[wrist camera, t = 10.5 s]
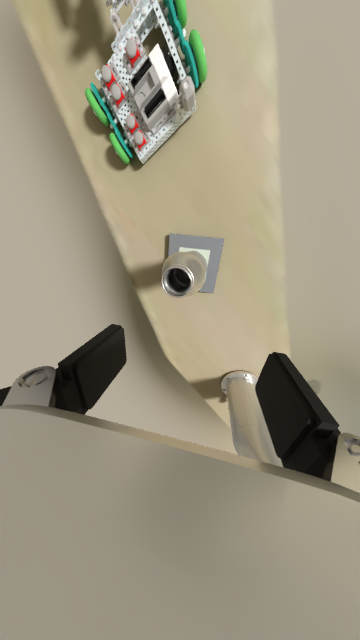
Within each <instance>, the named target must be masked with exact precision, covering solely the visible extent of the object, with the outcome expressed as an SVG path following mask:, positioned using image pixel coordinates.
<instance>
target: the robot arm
mask: <svg viewBox="0 0 360 640" xmlns="http://www.w3.org/2000/svg"><path fill="white" fill-rule="evenodd" d="M125 363H126V348H125V337H124V329H123V328H122V327H121V326H120V325H115V324H111V325H110V326H109V327H107V328H106V329H104V330H103V331H102V332H100V333H99V334H98V335H96V336H95V337H93V338H92V339H91V340H89V341H88V342H87V343H85V344H84V345H83V346H81V347H80V348H78V349H77V350H76V351H74V352H73V353H72V354H70V355H69V356H68V357H66V358H65V359H63V360H62V361H61V362H59V363H58V366H59V367H58V368H57V369H55V368H54V367H50V366H42V367H38V368H34V369H32V370H29V371H27V372H25V373H24V374H22V375H21V376H19V377H18V378H17V379H16V380H15V382H14V383H13V385H12V386H11V387H7V388H3V389H0V640H360V437H358V436H356V435H353V434H350V433H341V432H340V431H339V430H338V427H339V424H338V423H337V422H336V421H335V419H334V418H333V416H332V415H331V414H330V412H329V411H328V410H327V408H326V407H325V406H324V404H323V403H322V402H321V400H320V399H319V398H318V397H317V395H316V394H315V392H314V391H313V390H312V388H311V387H310V386H309V384H308V383H307V382H306V380H305V379H304V378H303V376H302V375H301V374H300V373H299V371H298V370H297V368H296V367H295V366H294V364H293V363H292V362H291V360H290V359H289V358H288V356H287V355H286V354H283V353H277V352H273V353H272V354H269V356H268V358H267V360H266V362H265V365H264V367H263V369H262V371H261V374H260V376H259V378H258V377H257V376H255V375H254V374H252V373H250V372H246V371H235V372H231V373H229V374H227V375H226V376H224V378H223V379H222V381H221V388H222V391H223V392H224V393H225V394H226V395H227V399H228V409H229V415H230V422H231V430H232V438H233V444H234V447H235V449H236V451H237V453H238V455H236V454H232V453H229V452H225V451H221V450H217V449H213V448H210V447H206V446H202V445H198V444H195V443H191V442H187V441H183V440H179V439H176V438H172V437H168V436H164V435H160V434H157V433H153V432H149V431H145V430H141V429H137V428H134V427H130V426H126V425H122V424H118V423H114V422H110V421H106V420H102V419H98V418H95V417H90V416H87V415H84V414H85V413H86V412H87V411H88V409H91V408H92V407H93V406H94V405H95V403H96V402H97V401H98V399H99V398H100V397H101V395H102V394H103V393H104V391H105V390H106V389H107V388H108V386H109V385H110V383H111V382H112V381H113V379H114V378H115V377H116V375H117V374H118V373H119V372H120V370H121V369H122V367H123V366H124V365H125ZM74 412H75V413H74Z"/></svg>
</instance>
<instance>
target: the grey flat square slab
mask: <svg viewBox="0 0 360 640" xmlns="http://www.w3.org/2000/svg"><path fill="white" fill-rule="evenodd" d="M223 243H224V239H222V238H211V237H201V236H191V235H181V234H171V233H170V235H169V253H168V257H169V256H171V255H172V254H174V253H176V252H188V251H196V252H199V253H200V254H202V255H203V256H204V258H205V259H206V262H207V272H206V274H205V281H204V284H203V286H202V288H201V289H200V290H199V291H200V292H207V293H213V292H214V287H215V282H216V277H217V272H218V267H219V262H220V257H221V252H222V247H223Z"/></svg>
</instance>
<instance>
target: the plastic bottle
mask: <svg viewBox="0 0 360 640" xmlns="http://www.w3.org/2000/svg"><path fill="white" fill-rule="evenodd" d="M206 272H207V262H206V259H205V258H204V256H203V255H202V254H200V253H199V252H196V251H188V252H176V253H174V254H172V255H171V256H169V257H168V258H167V259H166V261H165V262H164V264H163V267H162V280H161V281H162V287H163V289H164V290H165V292H166V293H167V294H169V295H170V296H172V297H176V298H180V297H184V296H191V295H193V294H195V293H197V292H198V291H199V290H200V289H201V288H202V286H203V284H204V281H205V274H206Z"/></svg>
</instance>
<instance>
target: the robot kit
mask: <svg viewBox="0 0 360 640" xmlns="http://www.w3.org/2000/svg"><path fill="white" fill-rule="evenodd" d="M135 1H136V4H135V5H134V2H133V0H122V1H121V0H107V2H106V5H107V7H108V6H109V4H110V6H111V5H112V6H113V9H112V8H111V10H110V20H111V22H112V24H113V27H114V29H115V31H116V38H115V41H113V43H112V45H111V47H112V50H113V52H115V54H113V55H112V56H111V59H109V61H108V63H107V64H106V65H104V66H103V67H102V70H101V73H100V71H99V70H97V71H96V73H95V75H96V77H97V78H98V80H99V82H100V84H101V86H102V88H101V92H102V94H103V95H104V97H103V98H102V96H101V94H100V93H99V91H98V90H97V88H96V87H95V85H94V84H93V83H91V84H90V85H91V88H92V90H93V92H94V93H93V92H92V90H91V89H89V88H86V90H85V95H86V98H87V100H88V102H89V104H90V105H91V107H92V109H93V112H94V114H95V115H96V116H98V118H99V119H100V121H101V122H102V123H103V124H104V125H105V126H109V124H110V128H111V129H115V133H116V135H117V136H116V135H115V134H114V133H110V135H109V138H110V141H111V143H112V145H113V147H114V149H115V152H116V154H117V155H119V157H120V158H121V159H122V160H123V162H124V163H126V164H128V163H129V162H130V158H129V156H130V157H131V158H133V154H132V152H131V150H130V148H129V146H130V147H131V148H132V147H133V148H134V150H135V152H136V154H137V156H138V158H139V160H140V161H141V162H142V164H144V163H145V162H146V160H147V159H148V158H149V157H150V156H151V155H152V154H153V153H154V152H155V151H156V150H157V149H158V148H159V147H160V146H161V145H162V144H163V143H164V142H165V141H166V140H167V139H168V138H169V137H170V136H171V135H172V134H173V133H174V132H175V131H176V129H177V128H178V127H179V126H180V125H181V124H182V123H183V122H184V121H185V120H186V119H187V118H188V117H189V116H190V115H191V114H192V113H193V112H194V111H195V110H196V98H195V88H197V87H198V85H199V82H200V83H203V82H204V81H205V79H206V76H207V65H206V58H205V50H204V47H203V44H202V41H201V38H200V35H199V33H198V32H197V31H196V30H195V29H193V30H192V31H191V33H190V36H189V43H188V41H187V40H186V41H185V38H186V30H185V29H183V28H184V27H185V25H186V21H187V11H186V3H185V0H163V1H164V4H165V9H163V4H162V2H161V1H160V2H159V3H158V0H149V1H148V0H135ZM124 2H125V5H127V7H128V4H129V2H130V4H131V6H132V13H131V15H130V17H129V18H128V19H127V21H126V23H125V24H124V25H122V24H121V22H120V19H119V18H120V16H119V14H118V12H119V10H120V8H121V7H122V5H123V4H124ZM146 3H147V4H146ZM117 4H118V8H117V7H116V5H117ZM145 4H146V5H145ZM148 6H149V7H148ZM150 13H151V15H150V16H149V14H150ZM167 15H168V18H169V20H168V18H167ZM140 18H141V19H140ZM146 19H147V21H146V22H145V20H146ZM152 20H153V21H154V22H153V24H152ZM116 21H117V23H118V25H119V28H120V29H119V31H118V28H117V26H116V23H115V22H116ZM129 21H130V24H128V23H129ZM169 22H170V25H171V26H170V25H169ZM132 23H133V25H132ZM155 24H156V25H155ZM142 25H143V27H142V28H141V26H142ZM148 26H149V27H150V28H149V30H148ZM154 26H155V28H157V27H159V28H160V27H161V30H162V33H163V34H164V36H165V39H166V41H167V44H168V46H169V52H167V50H166V49H165V48H163V49H162V50H160V47H159V45H158V44H156V46H155V47H154V48H153V50H152V51H151V52H150V54H149V56H147V57H146V52H145V50H144V47H143V45H142V43H143V41H144V40H145V38H146V37H147V35H148V34H149V33H150V31H151V30H152V28H153V27H154ZM171 27H172V28H171ZM128 29H129V31H128ZM182 29H183V30H182ZM138 30H139V33H137V32H138ZM172 30H173V32H174V33H172ZM144 32H145V33H146V34H145V35H144ZM174 35H175V36H176V35H177V39H176V40H175V36H174ZM134 38H135V39H134ZM140 38H142V40H140ZM124 42H125V44H124ZM114 45H115V48H113V46H114ZM178 45H180V47H181V51H182V53H183V54H184V55H185V60H186V64H187V68H185V62H182V63H181V61H180V58H179V55H178V53H177V50H176V49H177V47H178ZM117 46H118V48H117ZM169 55H171V58H169ZM144 58H145V61H144ZM110 63H111V65H110ZM140 64H142V65H141V66H140ZM176 68H177V71H178V74H179V79H178V80H177V84H178V83H179V82H180V85H179V86H180V87H179V95H178V93H177V89H176V87H175V84H174V82H173V79H172V78H173V76H174V71H175V69H176ZM113 69H114V70H113ZM136 69H138V70H137V71H136ZM98 72H99V73H100V75H98V74H97V73H98ZM123 72H124V73H123ZM126 72H127V73H128V74H127V75H126ZM133 73H134V75H133ZM188 73H189V75H190V76H189V75H188ZM123 77H124V79H122V78H123ZM126 78H127V80H126ZM129 79H130V81H129ZM119 82H121V83H120V84H119ZM126 83H127V86H126V85H125V84H126ZM122 88H124V90H123V89H122ZM128 90H130V92H129V91H128ZM131 96H132V97H133V98H131ZM179 97H180V98H179ZM106 101H107V104H108V105H109V106H110V109H111V111H113V115H114V117H115V120H113V116H112V114H111V112H110V110H109V108H108V106H107V105H106V103H105V102H106ZM134 102H135V104H134ZM137 107H138V110H137ZM172 110H173V111H172ZM171 111H172V113H170V112H171ZM106 113H107V114H106ZM140 113H141V115H140ZM179 113H180V114H179ZM168 115H169V116H168ZM172 116H173V117H172ZM142 119H143V121H142ZM109 120H110V122H111V123H110V122H109ZM168 120H169V121H168ZM119 121H120V123H121V125H122V127H123V129H124V131H125V132H124V136H125V137H126V140H125V139H124V138H123V136H122V135H121V133H120V130H119V128H118V126H117V125H116V124H117V123H119ZM171 121H172V123H171ZM174 122H175V124H174ZM145 124H146V127H145ZM157 127H158V128H157ZM142 128H143V130H142ZM163 129H165V130H164V131H163ZM147 130H149V131H147ZM151 131H152V132H151ZM157 132H158V133H157ZM144 133H145V134H146V135H144ZM150 135H152V136H151V137H150ZM153 136H154V137H153ZM156 137H158V138H157V139H156ZM147 138H148V139H147ZM156 141H157V143H156ZM128 142H129V146H128V145H127V144H128ZM149 144H151V145H150V146H149ZM146 147H147V149H146Z"/></svg>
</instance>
